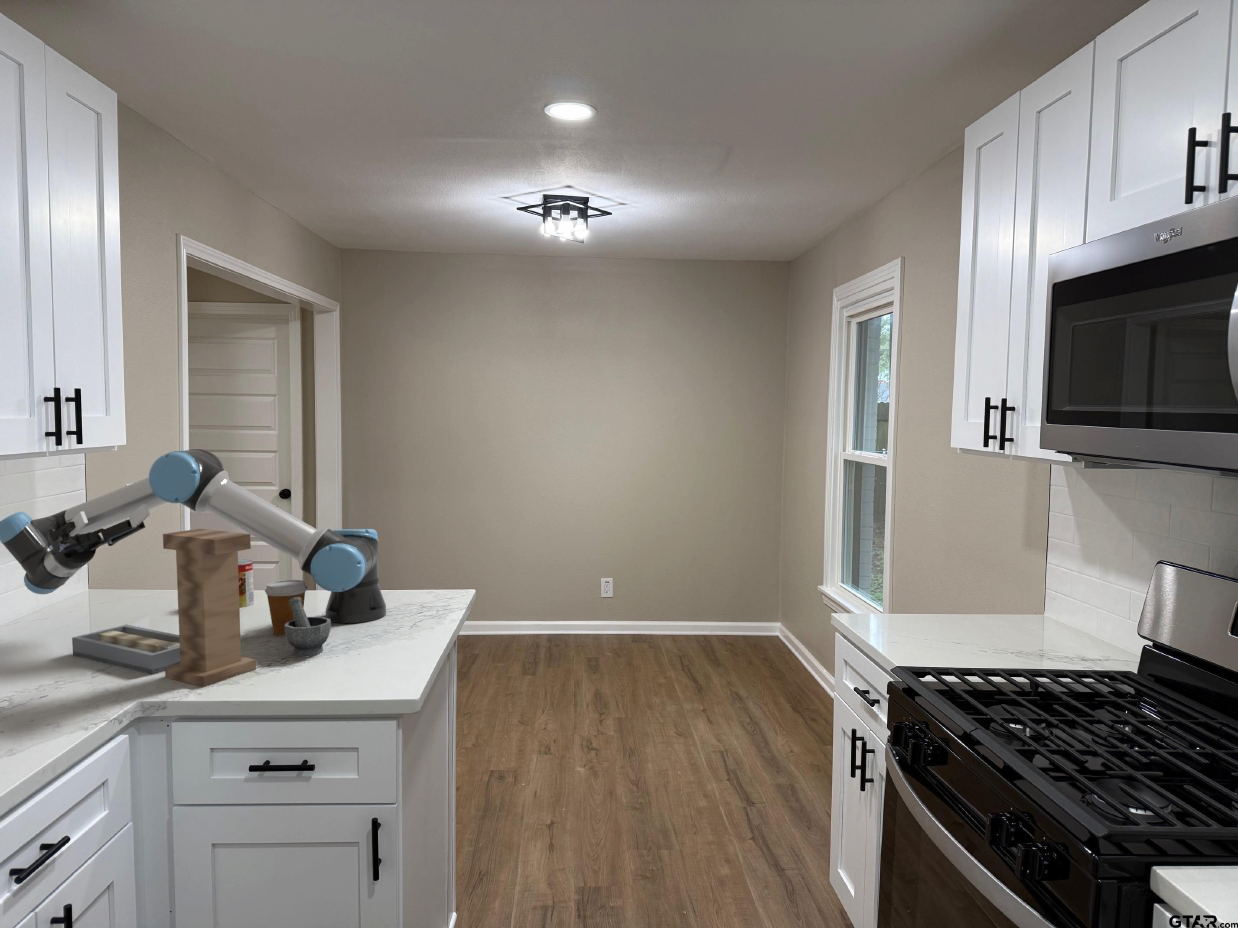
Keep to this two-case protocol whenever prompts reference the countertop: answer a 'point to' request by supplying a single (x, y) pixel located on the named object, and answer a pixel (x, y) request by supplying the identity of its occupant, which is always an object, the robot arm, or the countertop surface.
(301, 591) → the disposable coffee cup
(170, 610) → the countertop surface
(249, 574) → the canned food
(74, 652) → the tray
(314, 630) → the mortar and pestle
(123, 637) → the bar
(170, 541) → the post stand
